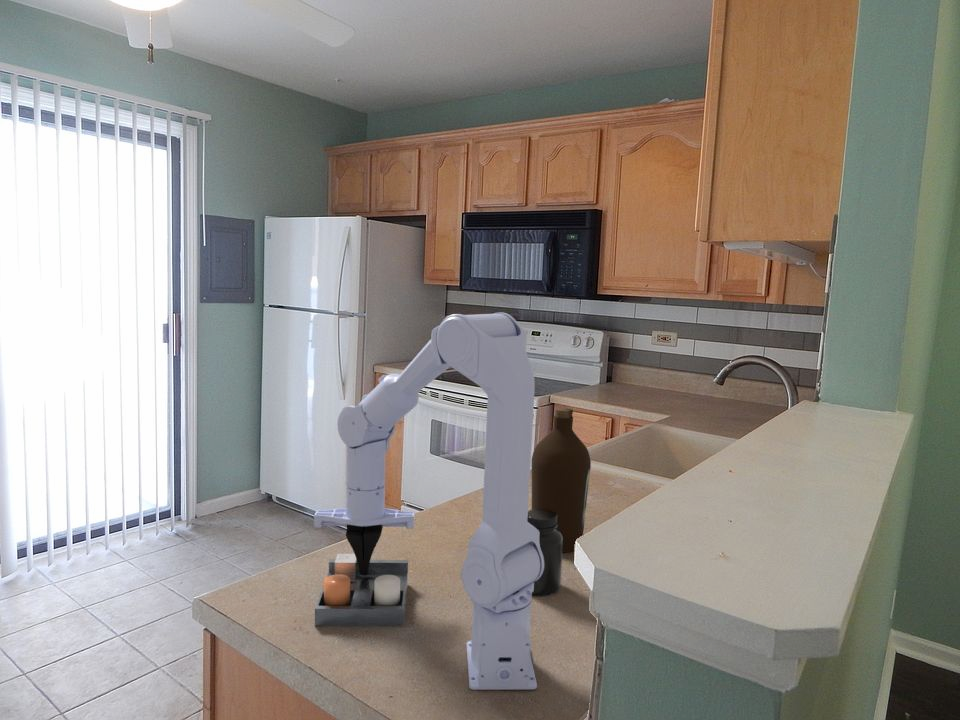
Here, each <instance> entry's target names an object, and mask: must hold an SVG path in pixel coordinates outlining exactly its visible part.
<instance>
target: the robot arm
mask: <svg viewBox="0 0 960 720" xmlns="http://www.w3.org/2000/svg"><path fill="white" fill-rule="evenodd" d="M526 348H527V331H526V330H525V329H524V328H523V327H522V325H521V324H520V323H519V322H518V321H517V320H516V319H515V318H514V317H513V316H512V315H511V314H509V313H506V312H502V311H500V312H494V313H479V314H477V313H475V314H462V313H453V314H450V315H447V316H446V317H445V318H444V319H442V322H441V323H440V325H439V324H438V325H437V326H436V327H434V328H433V329H432V330H431V337H430V339H429V340H428V342H427V343H426V344H425V345H424V346H423V347H422V348H421V350H420V351H419V352H418V353H417V354H416V356H415V357H414V358H412V360H411V361H410V362H409V364H408V365H407V366H406V367H405V368H404V370H402V372H401V373H391V374H390V373H388V374H383V375H381V376H380V377H379V378H378V380H377V381H378V384H377V385H376V386H375V387H374V388H373V389H372V390H371V391H370V392H369V393H367V394H364V395H363V396H362V397H361V401H360V402H359V403H358V404H357V405H347V406H344V407H343V408H342V410H341V411H340V413H339V414H338V415H339V416H338V418H337V432H338V435H339V437H340V439H341V441H342V442H343V443H344V444H345V507H343V508H334V509H323V510H322V509H321V510H320V509H318V510H315V512H314V515H313V517H314V518H313V526H314V527H313V528H316V529H317V528H323V527H346V532H345V537H346V540H347V542H348V543H349V545H350V547H351V549H352V551H353V554H355V556H356V559H357V563H358V567H359V573H360V575H368V571H369V564H370V560H372V556H373V553H374V550H375V548H376V546H377V544H378V543H379V541H380V539H381V535H382V532H383V528H384V527H385V528H386V527H387V528H389V527H390V528H391V527H393V528H395V527H396V528H406V529H407V530H410V529H411V530H414V527H415V511H408V510H407V511H406V510H399V509H391V508H386V507H385V506H386V505H385V503H386V499H385V497H386V496H385V495H386V459H387V458H386V457H387V455H386V454H387V452H388V450H389V449H390V440H391V438H392V437H393V435H394V433H395V430H396V424H398V422H400V421H401V420H402V419H403V418H404V417H405V416H406V415H408V414H409V413H410V412H411V411H412V410H413V409H414V408H415V407H417V404H418V403H419V399H420V398H419V392H421V390H423V389H425V388H426V387H427V386H428V385H429V384H430V383H431V382H432V381H434V380H435V379H436V378H438V377H439V376H440V375H441V374H443V373H445V371H446V370H448V369H449V368H452V369H454V370H455V371H457V372H458V373H460V374H462V376H464V377H466V378H467V379H469V380H470V381H471V382H473V383H475V384H476V385H477V386H479V387H480V388H481V389H482V390H483V392H484V393H485V394H486V396H487V404H486V406H487V407H486V409H487V411H486V425H485V426H486V429H485V448H484V451H485V452H484V468H483V469H484V470H483V472H484V473H483V474H484V475H483V495H482V516H481V519H482V520H481V522H480V524H479V526H478V528H477V529H476V531H475V532H474V533H473V535H472V537H471V538H470V540H469V542H468V546H467V547H468V550H467V556H466V558H465V559H464V561H463V564H462V566H461V573H460V577H461V582H462V585H463V586H462V587H463V588H464V592H465V593H466V594H467V596H468V597H469V601H470V602H472V620H471V621H472V622H471V625H472V626H471V640H467V641H466V656H467V657H466V658H467V659H466V660H467V672H468V683H469V685H468V686H469V688H470V690H476V691H477V690H478V691H479V690H480V691H481V690H483V691H484V690H492V691H493V690H502V691H503V690H504V691H505V690H506V691H507V690H508V691H509V690H510V691H511V690H536V689H538V684H537V683H538V682H537V680H536V675H535V671H534V666H533V662H532V661H533V660H532V657H531V649H532V648H531V647H532V646H531V645H532V643H531V642H532V641H531V634H530V633H531V632H530V631H531V616H532V615H531V614H532V613H531V612H532V596H533V595H532V592H533V591H534V582H535V581H537V580H538V579H539V578H540V577H541V575H542V573H543V570H544V557H543V554H542V551H541V548H540V543H539V535H540V532H539V531H538V530H537V529H536V528H535V527H534V526H532V525H531V524H530V523H529V522H527V518H528V511H529V496H530V481H531V478H530V477H531V464H532V443H533V442H532V441H533V425H534V424H533V423H534V407H535V406H534V405H535V392H536V390H535V388H536V387H535V386H536V384H535V382H536V381H535V375H534V372H533V369H532V366H531V364H530V363H531V362H530V359H529V357H528V353H527V350H526Z"/></svg>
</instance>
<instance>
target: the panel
mask: <svg viewBox="0 0 960 720" xmlns="http://www.w3.org/2000/svg"><path fill="white" fill-rule="evenodd" d="M335 560H336V558H332V559H329V560H328V572H327V575H326V577H325V578H327V577H328V576H331V575H335ZM382 575H394V576H397V577H399V578H400V602H399V603H398V604H397V605H395V606H377V605H376V604H375V603H374V581H375V579H376V578H377V577H379V576H382ZM408 582H409V560H408V559H370V564H369V571H368V575H360V573H359V567H358V573H357V577H356V580H355V582H350V601H349V603H348V604H346V605H344V606H327V605H325V604H324V584H323V586H322V589H321V591H320V594H319V596H318V599H317V601H316V605H315V608H314V627H404V625H405V624H404V623H405V614H406V613H405V612H406V604H407V594H408V593H407V592H408V586H407V585H409V583H408Z"/></svg>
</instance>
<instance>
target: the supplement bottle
mask: <svg viewBox="0 0 960 720" xmlns="http://www.w3.org/2000/svg"><path fill="white" fill-rule="evenodd" d="M527 522H529V523H530V524H531V525H532V526H534V527H535V528H536V529H537V530H538V531H539V532H540V535H539V543H540V548H541V551H542V554H543V557H544V570H543V573H542V575H541V577H540V578H539V579H538V580H537V581H535V582H534V591H533V592H532V596H534V597H549V596H552V595H555V594H556V593H557V592H559V591H560V589H561V584H562V571H563V570H562V566H563V565H562V563H563V552H562V546H563V537H562V535H561V533H560V531H559V530H558V529H556V528H557V514H556V513H555V512H553V511H551V510H547V509H532V508H531V509H530V510H528V518H527Z"/></svg>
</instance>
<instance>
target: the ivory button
mask: <svg viewBox="0 0 960 720" xmlns="http://www.w3.org/2000/svg"><path fill="white" fill-rule="evenodd" d="M399 602H400V578H399V577H397V576H394V575H382V576H379V577H377V578H376V579H375V581H374V603H375V604H376V605H377V606H395V605H397V604H398V603H399Z"/></svg>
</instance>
